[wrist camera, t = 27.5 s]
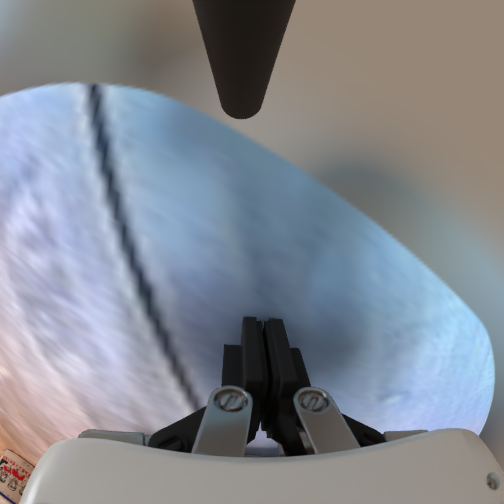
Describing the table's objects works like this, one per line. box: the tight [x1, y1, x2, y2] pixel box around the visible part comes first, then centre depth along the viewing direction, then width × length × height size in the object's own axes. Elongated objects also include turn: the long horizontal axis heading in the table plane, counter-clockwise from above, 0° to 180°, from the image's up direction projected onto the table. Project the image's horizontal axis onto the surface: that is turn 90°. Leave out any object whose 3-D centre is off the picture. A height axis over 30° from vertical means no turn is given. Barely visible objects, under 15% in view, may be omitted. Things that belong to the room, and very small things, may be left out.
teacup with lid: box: [0, 450, 34, 504], centre depth 12 cm, size 12×9×12 cm
